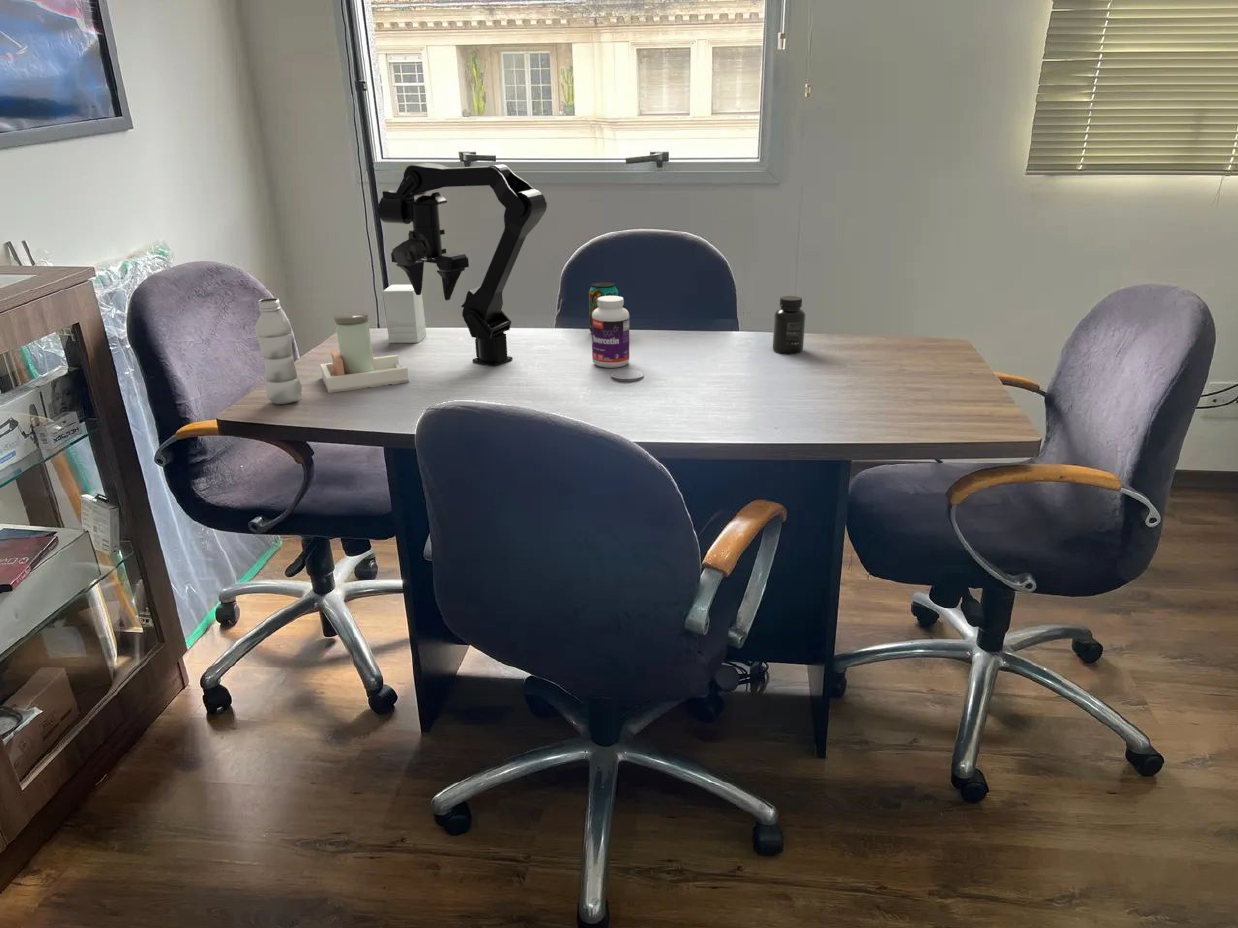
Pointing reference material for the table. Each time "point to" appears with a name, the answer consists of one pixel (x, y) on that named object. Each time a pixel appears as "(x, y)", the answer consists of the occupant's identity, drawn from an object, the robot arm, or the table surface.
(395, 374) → the white rectangular tray
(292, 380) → the plastic bottle
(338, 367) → the pusher paddle
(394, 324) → the supplement box
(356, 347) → the ceramic jar
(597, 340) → the pill bottle
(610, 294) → the beverage can
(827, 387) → the table surface
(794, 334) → the supplement bottle
